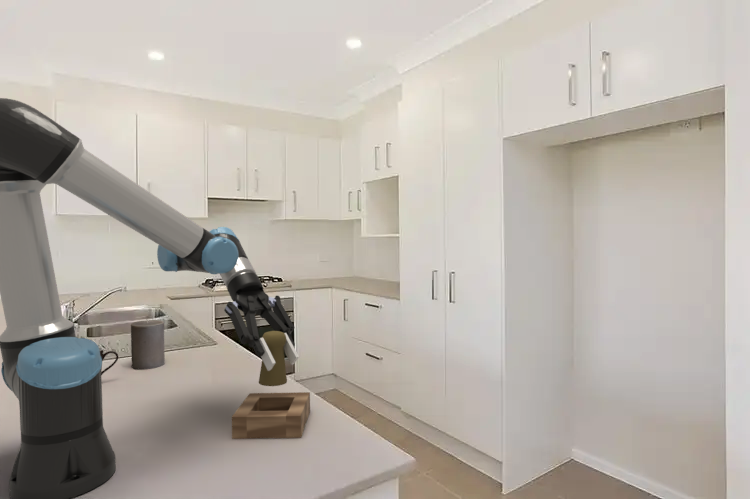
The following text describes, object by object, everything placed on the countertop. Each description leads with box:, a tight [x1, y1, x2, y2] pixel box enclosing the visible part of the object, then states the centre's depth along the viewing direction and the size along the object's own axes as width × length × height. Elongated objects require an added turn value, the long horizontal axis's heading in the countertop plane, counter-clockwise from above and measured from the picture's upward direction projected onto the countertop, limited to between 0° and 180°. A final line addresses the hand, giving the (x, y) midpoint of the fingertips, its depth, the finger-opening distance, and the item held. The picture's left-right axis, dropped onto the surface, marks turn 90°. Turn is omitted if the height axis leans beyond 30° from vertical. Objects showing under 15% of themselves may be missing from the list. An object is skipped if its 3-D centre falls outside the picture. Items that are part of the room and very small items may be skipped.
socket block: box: [231, 391, 311, 440], centre depth 102 cm, size 14×14×4 cm
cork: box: [258, 330, 288, 387], centre depth 102 cm, size 6×6×11 cm
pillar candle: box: [130, 318, 166, 370], centre depth 150 cm, size 10×10×15 cm
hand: (283, 363), depth 100 cm, fingers closed on cork, 5 cm apart
